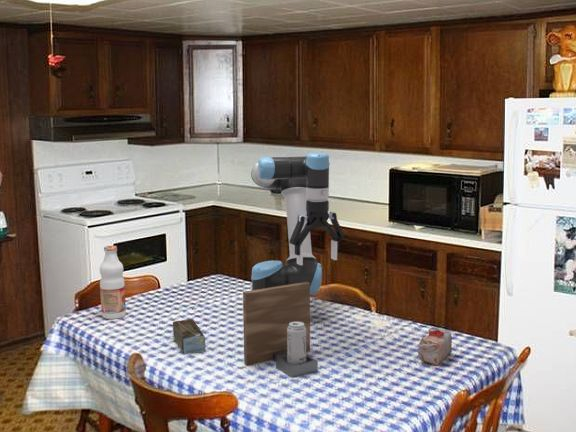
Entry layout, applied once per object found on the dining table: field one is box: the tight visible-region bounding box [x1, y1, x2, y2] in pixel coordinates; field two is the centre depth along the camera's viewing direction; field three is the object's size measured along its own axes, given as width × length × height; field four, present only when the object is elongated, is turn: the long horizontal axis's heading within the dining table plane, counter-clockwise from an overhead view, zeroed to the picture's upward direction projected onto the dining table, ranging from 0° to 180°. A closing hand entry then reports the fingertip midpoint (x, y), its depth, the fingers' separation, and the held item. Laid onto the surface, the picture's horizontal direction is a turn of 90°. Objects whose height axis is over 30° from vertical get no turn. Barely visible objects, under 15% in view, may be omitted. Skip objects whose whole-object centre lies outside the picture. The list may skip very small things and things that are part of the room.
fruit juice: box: [99, 245, 127, 320], centre depth 275 cm, size 9×9×28 cm
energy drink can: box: [287, 321, 307, 365], centre depth 220 cm, size 6×6×15 cm
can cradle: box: [272, 350, 319, 378], centre depth 224 cm, size 16×10×4 cm, turn 31°
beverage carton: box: [172, 318, 206, 355], centre depth 244 cm, size 8×19×7 cm, turn 20°
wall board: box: [242, 282, 311, 366], centre depth 230 cm, size 2×24×24 cm, turn 121°
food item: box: [417, 328, 453, 366], centre depth 229 cm, size 14×8×10 cm, turn 148°
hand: (317, 261), depth 236 cm, fingers open, 13 cm apart
